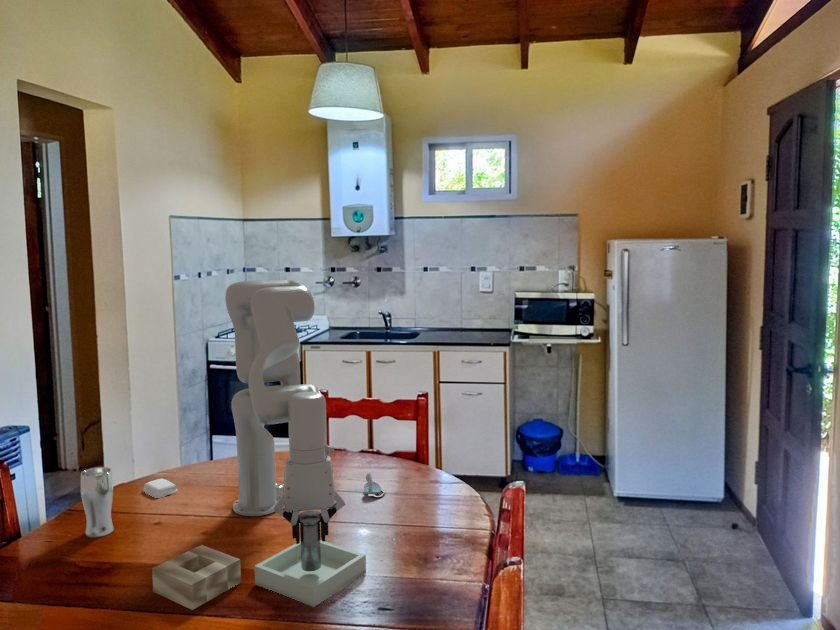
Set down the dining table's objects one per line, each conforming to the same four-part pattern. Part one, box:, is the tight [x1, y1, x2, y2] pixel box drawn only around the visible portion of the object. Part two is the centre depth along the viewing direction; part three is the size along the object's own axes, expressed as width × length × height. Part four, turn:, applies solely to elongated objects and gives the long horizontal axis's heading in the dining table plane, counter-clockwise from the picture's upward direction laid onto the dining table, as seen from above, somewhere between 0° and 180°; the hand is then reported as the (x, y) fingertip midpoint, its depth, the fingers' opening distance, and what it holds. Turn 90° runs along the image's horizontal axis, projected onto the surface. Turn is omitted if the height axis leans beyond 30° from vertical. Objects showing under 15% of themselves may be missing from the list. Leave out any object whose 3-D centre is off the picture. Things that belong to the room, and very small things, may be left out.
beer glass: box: [80, 466, 115, 538], centre depth 160 cm, size 7×7×15 cm
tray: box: [254, 539, 367, 608], centre depth 138 cm, size 16×16×4 cm
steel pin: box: [298, 510, 322, 571], centre depth 137 cm, size 5×5×11 cm
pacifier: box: [362, 472, 382, 495], centre depth 183 cm, size 7×6×6 cm
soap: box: [142, 478, 179, 499], centre depth 186 cm, size 9×7×3 cm
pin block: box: [151, 544, 242, 611], centre depth 135 cm, size 12×12×5 cm
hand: (310, 539), depth 137 cm, fingers closed on steel pin, 4 cm apart
